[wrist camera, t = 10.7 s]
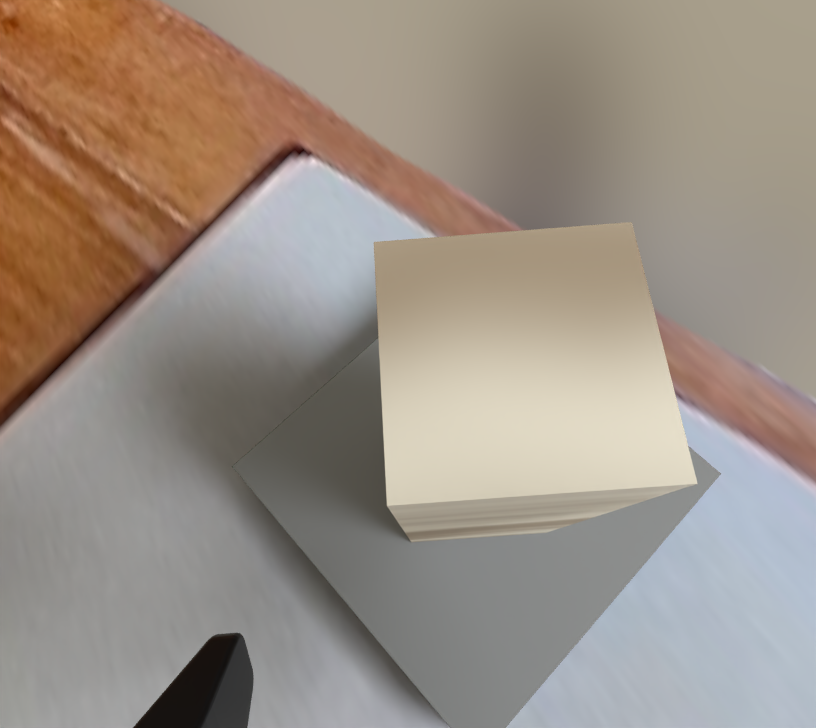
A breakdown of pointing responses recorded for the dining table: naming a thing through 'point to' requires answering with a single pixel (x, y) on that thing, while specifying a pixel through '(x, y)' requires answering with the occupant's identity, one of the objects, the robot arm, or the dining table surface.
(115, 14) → the dining table surface
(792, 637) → the dining table surface
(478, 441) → the cream block
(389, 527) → the base plate
